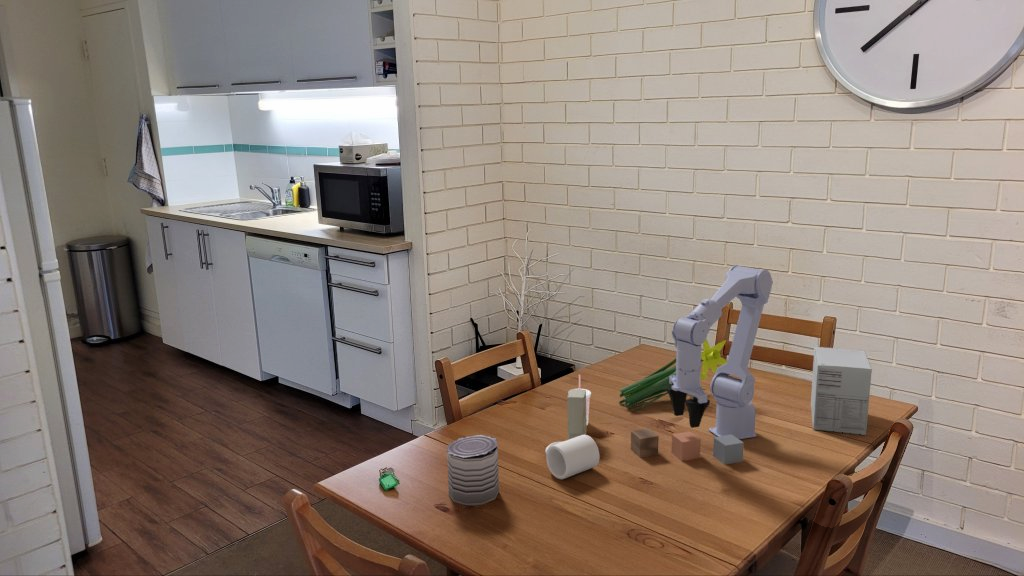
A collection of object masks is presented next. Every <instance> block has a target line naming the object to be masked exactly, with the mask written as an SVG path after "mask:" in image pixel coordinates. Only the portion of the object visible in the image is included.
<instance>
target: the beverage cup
mask: <svg viewBox="0 0 1024 576" xmlns="http://www.w3.org/2000/svg"><path fill="white" fill-rule="evenodd" d="M575 389H576V390H586V424H587V426H588V425H589V415H590V414H589V413H590V400H591V399H590V398H591V396H592V392H591V390H589V389H585V388H581V374H578V388H575ZM567 393H569V391H568V392H567Z"/></svg>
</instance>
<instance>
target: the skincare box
mask: <svg viewBox="0 0 1024 576" xmlns="http://www.w3.org/2000/svg"><path fill="white" fill-rule="evenodd" d="M576 389H577V388H572V389H571V388H570V389H569V390H568V392H569V393H568V392H567V393H568V394H567V397H566V400H567V401H566V403H567V406H566V407H567V440H569V439H572V438H575V437H578V436H581V435H587V434H588V433H587V429H588V428H587V426H588V425H587V424H586V390H576Z"/></svg>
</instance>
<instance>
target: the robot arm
mask: <svg viewBox="0 0 1024 576" xmlns="http://www.w3.org/2000/svg"><path fill="white" fill-rule="evenodd" d="M724 279H725V280H724V282H723V284H721V286H720V287H719V288H718V290H717V291H716V292H715V293H714V295H712V297H711V298H705V299H702V300H701V301H700V303H699V304H698V305H696V307H695V308H693V310H692V311H691V312H690V313H689V314H687V316H685V317H680V318H679V319H677V320H676V321H675V322H674V324H673V327H672V330H671V336H672V338H673V340H674V346H675V348H676V357H675V358H676V363H675V366H676V375H674V376H669V383H670V384H672V385H671V386H670V387H667V388H666V390H667V392H668V394H667V395H668V396H669V398H670V401H671V405H672V411H673V414H674V416H675V417H678V416H679V417H680V416H684V412H685V408H686V407H687V411H688V417H689V418H688V419H689V426H690V428H692V429H693V428H699V427H700V425H701V422H702V419H703V416H704V414H705V411H706V410H707V408H708V406H709V405H710V404H711V401H710V399H708V394H707V393H706V392H705V390H703V389H704V388H703V386H702V387H701V385H702V384H701V380H700V373H702V372H701V370H702V362H701V352H702V346H703V343H704V342H705V340H706V339H707V337H708V334H709V333H710V331H711V327H713V325H714V324H715V323H716V322H717V321H718V320H719V319H720V318H721V317H722V314H723V311H722V309H723V308H725V306H727V305H728V304H729V303H730V302H731V301H732V300H734V299H735V298H737V299H738V300H739V301H740V303H741V309H740V311H739V316H738V320H737V323H736V326H735V331H734V334H733V338H732V343H731V345H730V349H729V354H728V356H727V357H728V358H727V363H726V364H724V365H720V366H718V368H717V370H716V373H715V374H714V375H713V377H712V379H711V380H710V385H709V389H710V390H709V391H710V393H711V395H712V396H713V397H714V398H713V400H714V401H716V410H715V411H716V413H715V414H716V415H715V427H709V428H708V431H709V432H711V433H712V434H713V435H715V437H719V436H725V435H731V434H732V435H733V436H735V437H736V438H738V439H739V440H744V439H749V438H750V439H751V438H756V437H757V434H756V433H755V431H756V414H757V413H756V408H755V405H754V403H753V402H752V400H753V398H754V394H755V380H756V378H755V377H754V375H753V374H752V373H751V371H750V369H749V363H750V359H751V356H752V352H753V348H754V345H755V340H756V336H757V333H758V330H759V325H760V322H761V317H762V315H763V314H762V313H763V310H764V307H765V304H768V301H769V298H770V294H771V291H772V288H773V287H772V286H773V282H774V281H773V278H772V275H771V273H770V271H769V270H768V269H760V268H753V267H748V266H747V267H746V266H741V265H737V264H734V265H732V266H731V267H730V268H729V270H727V271H726V274H725V278H724ZM736 377H737V378H736ZM700 384H701V385H700ZM702 388H703V389H702ZM687 395H689V396H691V397H692V398H690V399H687ZM685 406H686V407H685Z"/></svg>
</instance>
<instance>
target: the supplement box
mask: <svg viewBox="0 0 1024 576" xmlns="http://www.w3.org/2000/svg"><path fill="white" fill-rule="evenodd" d="M867 356H868V355H867V353H866V351H865V350H862V349H861V350H858V349H850V348H849V349H848V348H847V349H846V348H838V347H837V348H836V347H835V348H833V347H822V346H814V348H813V363H812V377H811V378H812V379H811V394H810V395H811V396H810V409H811V420H812V430H814V431H815V430H816V431H817V430H818V431H826V432H833V431H834V433H835V432H836V433H842V432H843V433H844V434H850V433H851V434H852V435H859V434H861V436H865V435H867V428H868V416H869V415H868V414H869V406H870V405H869V404H870V393H871V381H872V373H873V367H872V366H871V362H869V359H868V357H867ZM843 433H842V434H843Z"/></svg>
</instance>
